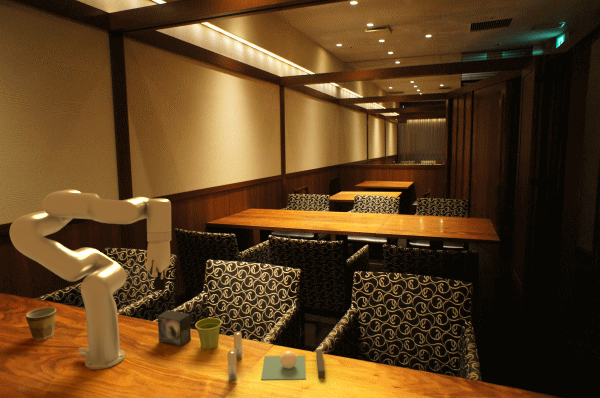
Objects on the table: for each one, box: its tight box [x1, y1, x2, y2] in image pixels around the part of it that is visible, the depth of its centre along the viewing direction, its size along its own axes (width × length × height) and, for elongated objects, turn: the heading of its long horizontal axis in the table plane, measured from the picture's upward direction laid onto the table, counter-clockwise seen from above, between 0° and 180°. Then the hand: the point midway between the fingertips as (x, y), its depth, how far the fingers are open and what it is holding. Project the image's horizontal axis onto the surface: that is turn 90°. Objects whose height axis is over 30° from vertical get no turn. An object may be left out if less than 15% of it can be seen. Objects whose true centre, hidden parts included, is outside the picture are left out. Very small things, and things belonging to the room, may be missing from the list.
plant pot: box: [194, 317, 223, 350], centre depth 146 cm, size 9×9×9 cm
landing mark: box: [260, 355, 307, 381], centre depth 131 cm, size 14×14×1 cm
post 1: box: [227, 349, 238, 383], centre depth 124 cm, size 3×3×9 cm
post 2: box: [233, 331, 243, 361], centre depth 137 cm, size 3×3×9 cm
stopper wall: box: [315, 349, 326, 379], centre depth 131 cm, size 2×13×2 cm, turn 1°
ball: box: [280, 350, 297, 369], centre depth 131 cm, size 6×6×6 cm
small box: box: [157, 309, 192, 348], centre depth 150 cm, size 11×6×10 cm, turn 68°
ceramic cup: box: [25, 306, 57, 341], centre depth 155 cm, size 13×10×10 cm
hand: (160, 289), depth 134 cm, fingers closed
